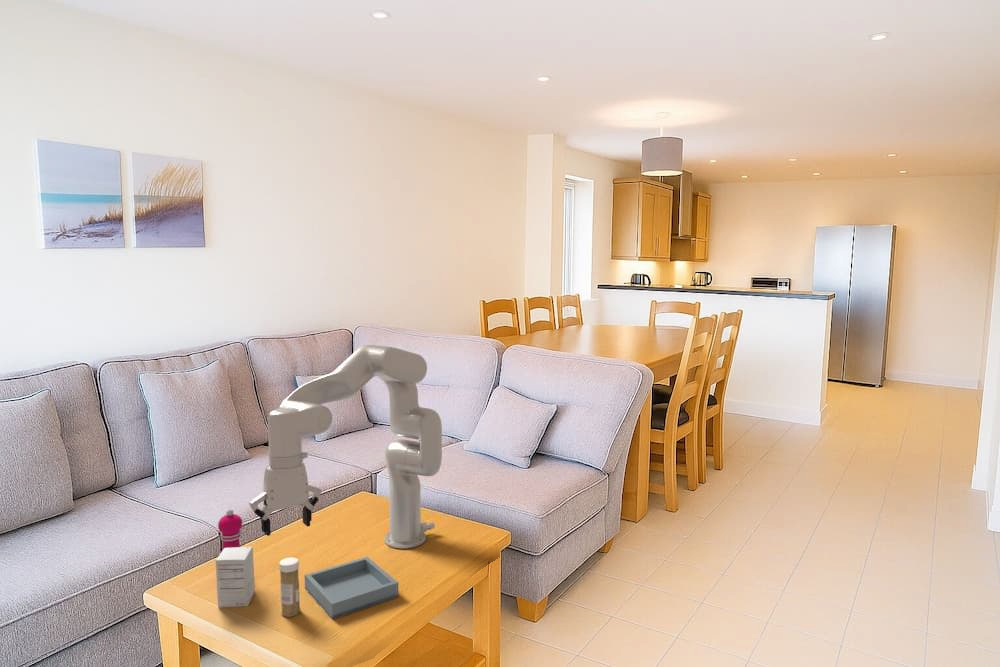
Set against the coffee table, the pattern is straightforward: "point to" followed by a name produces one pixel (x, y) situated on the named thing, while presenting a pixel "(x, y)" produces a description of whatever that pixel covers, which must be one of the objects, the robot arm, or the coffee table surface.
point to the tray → (351, 587)
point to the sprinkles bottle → (289, 586)
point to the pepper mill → (230, 529)
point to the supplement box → (235, 577)
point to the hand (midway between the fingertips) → (287, 529)
